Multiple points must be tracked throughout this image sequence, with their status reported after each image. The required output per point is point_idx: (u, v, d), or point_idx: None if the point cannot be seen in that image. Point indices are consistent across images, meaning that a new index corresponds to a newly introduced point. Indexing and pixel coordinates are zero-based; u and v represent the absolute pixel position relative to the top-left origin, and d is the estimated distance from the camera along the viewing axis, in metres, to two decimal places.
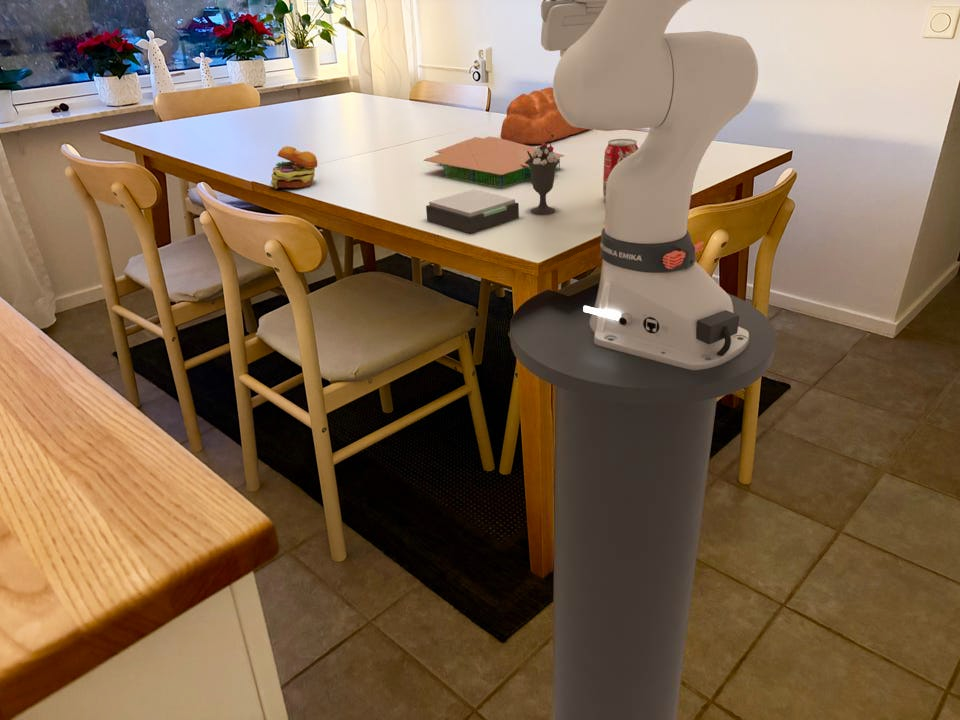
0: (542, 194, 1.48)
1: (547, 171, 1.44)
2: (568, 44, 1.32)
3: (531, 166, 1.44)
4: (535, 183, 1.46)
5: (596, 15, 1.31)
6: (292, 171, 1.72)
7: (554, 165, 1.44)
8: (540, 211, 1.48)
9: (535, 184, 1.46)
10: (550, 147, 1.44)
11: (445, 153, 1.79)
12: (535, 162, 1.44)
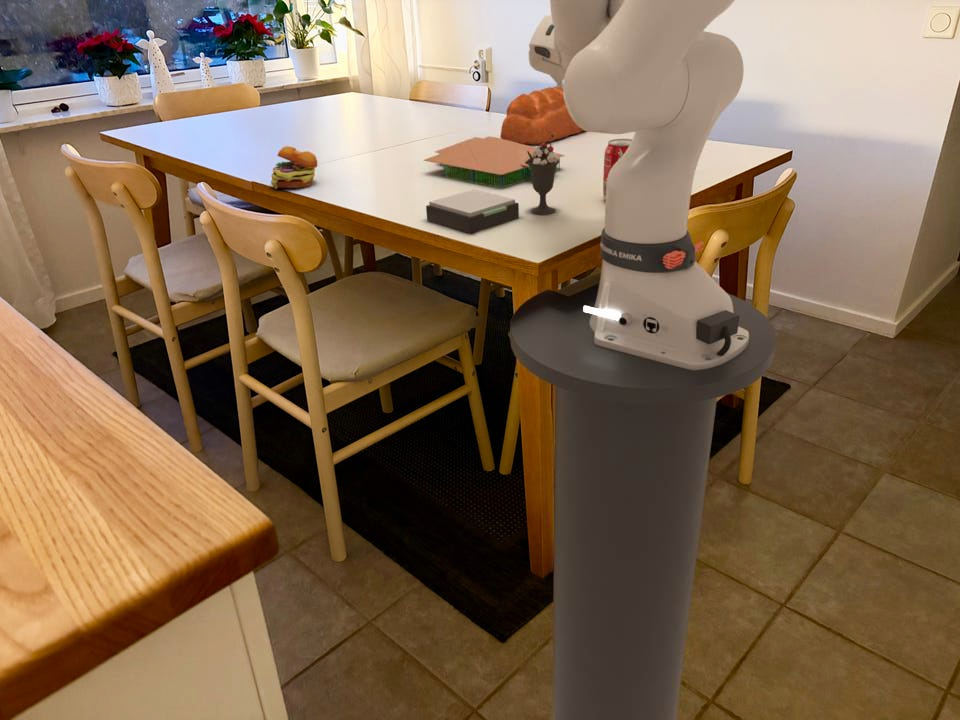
0: (542, 194, 1.48)
1: (547, 171, 1.44)
2: None
3: (531, 166, 1.44)
4: (535, 183, 1.46)
5: None
6: (292, 171, 1.72)
7: (554, 165, 1.44)
8: (540, 211, 1.48)
9: (535, 184, 1.46)
10: (550, 147, 1.44)
11: (445, 153, 1.79)
12: (535, 162, 1.44)
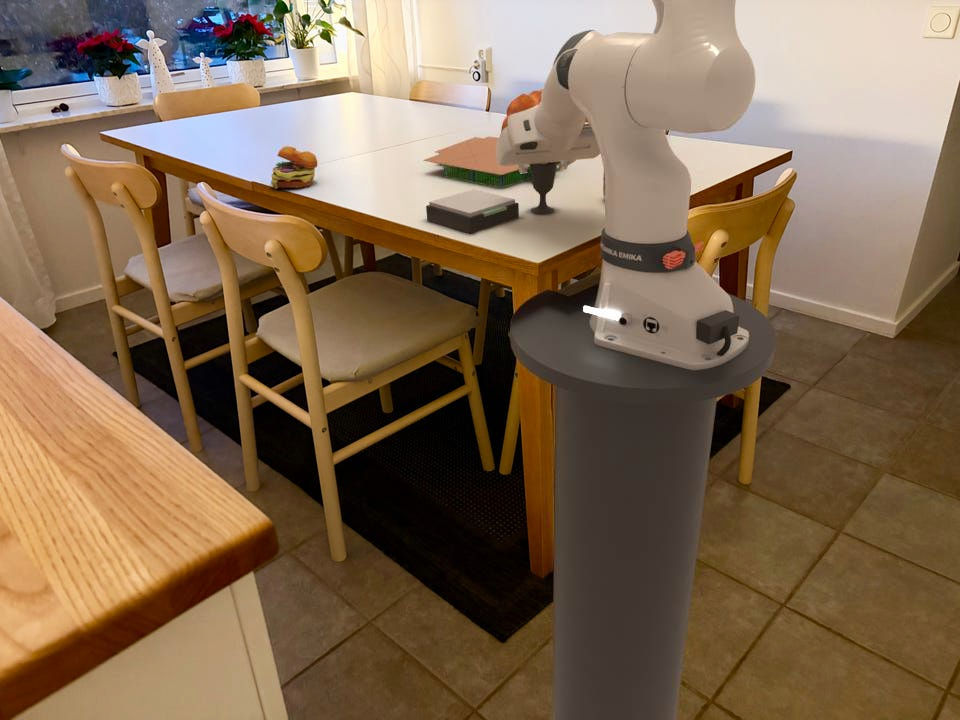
0: (542, 194, 1.48)
1: (548, 171, 1.44)
2: None
3: (532, 166, 1.44)
4: (535, 183, 1.46)
5: None
6: (292, 171, 1.72)
7: (555, 165, 1.44)
8: (540, 211, 1.48)
9: (535, 184, 1.46)
10: None
11: (445, 153, 1.79)
12: None
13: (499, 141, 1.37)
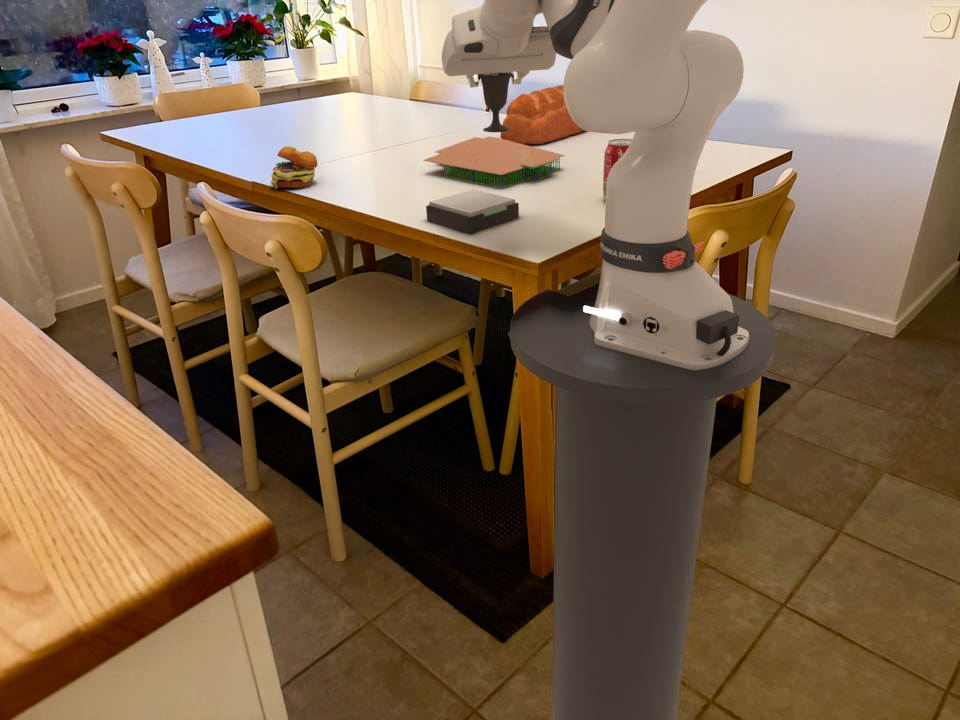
0: (495, 110, 1.38)
1: (499, 83, 1.34)
2: None
3: (482, 78, 1.35)
4: (487, 97, 1.36)
5: None
6: (292, 171, 1.72)
7: (507, 77, 1.34)
8: (493, 129, 1.39)
9: (487, 98, 1.36)
10: None
11: (445, 153, 1.79)
12: None
13: (444, 46, 1.27)
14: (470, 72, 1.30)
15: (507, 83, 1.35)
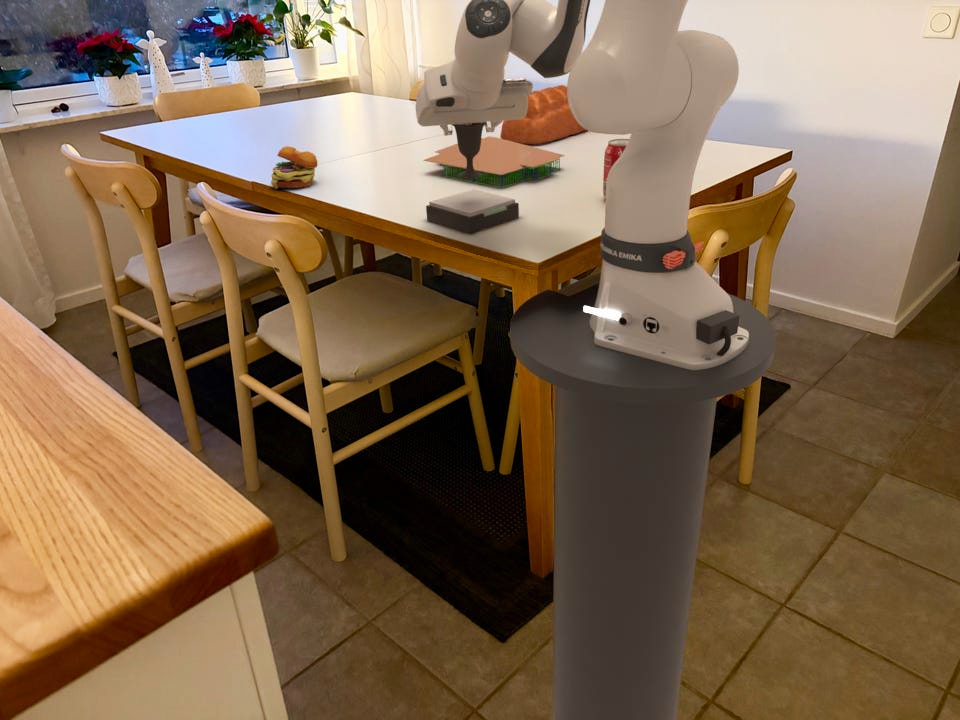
0: (469, 158, 1.40)
1: (472, 132, 1.37)
2: None
3: (456, 127, 1.37)
4: (460, 145, 1.39)
5: None
6: (292, 171, 1.72)
7: (480, 126, 1.37)
8: (467, 175, 1.41)
9: (460, 146, 1.39)
10: None
11: (445, 153, 1.79)
12: None
13: (417, 98, 1.30)
14: (443, 123, 1.33)
15: (480, 132, 1.38)
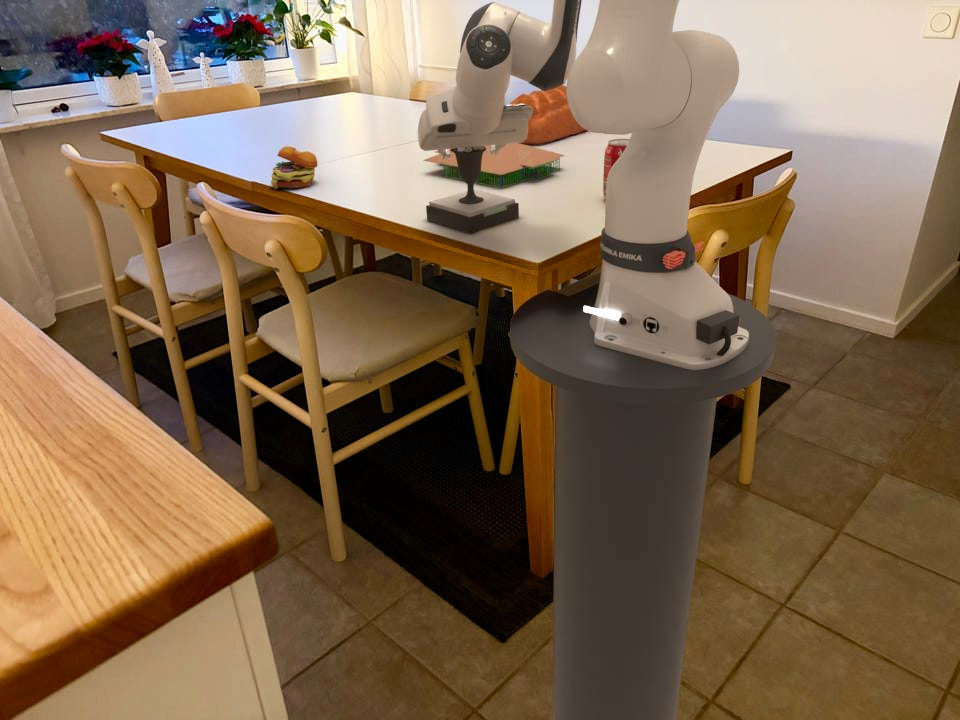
0: (469, 183, 1.43)
1: (472, 159, 1.39)
2: None
3: (456, 154, 1.40)
4: (461, 171, 1.41)
5: None
6: (292, 171, 1.72)
7: (480, 153, 1.39)
8: (468, 200, 1.43)
9: (461, 172, 1.41)
10: None
11: None
12: (460, 149, 1.39)
13: (419, 124, 1.32)
14: (445, 147, 1.35)
15: (480, 158, 1.40)
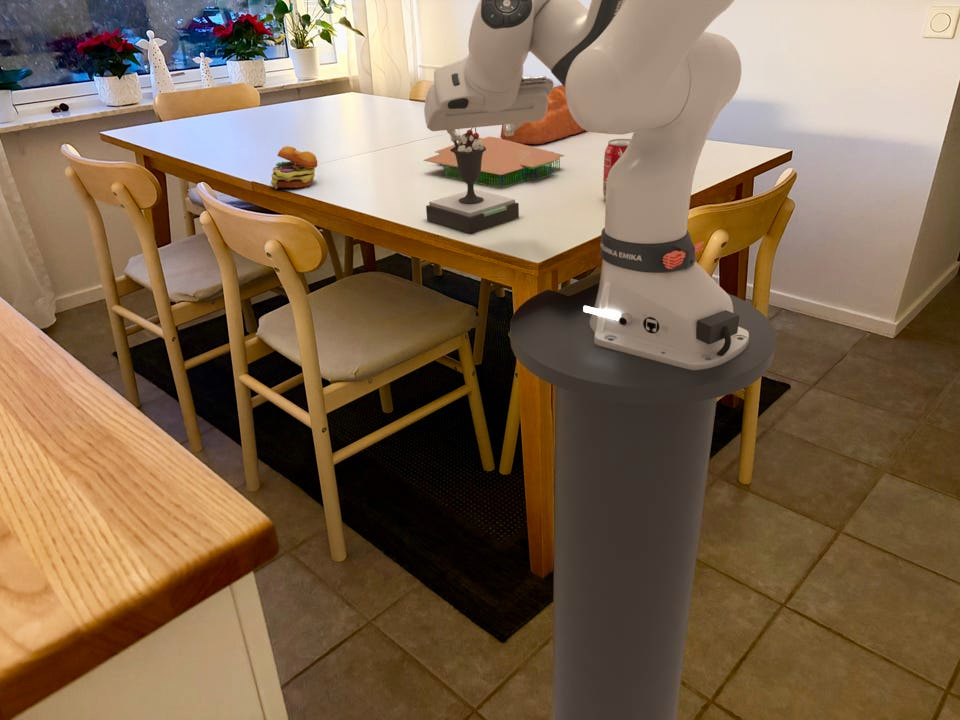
0: (469, 183, 1.43)
1: (472, 159, 1.39)
2: None
3: (456, 154, 1.40)
4: (461, 171, 1.41)
5: None
6: (292, 171, 1.72)
7: (480, 152, 1.39)
8: (468, 200, 1.43)
9: (461, 172, 1.41)
10: (475, 134, 1.39)
11: (445, 153, 1.79)
12: (460, 149, 1.39)
13: (426, 100, 1.18)
14: (455, 127, 1.21)
15: (480, 158, 1.40)
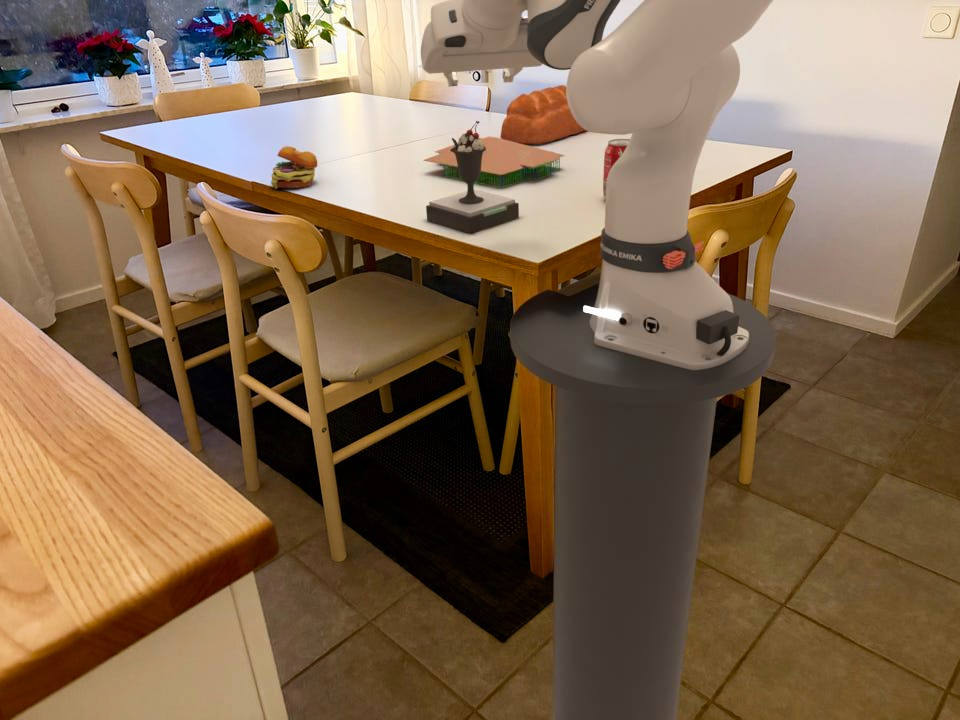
0: (469, 183, 1.43)
1: (472, 159, 1.39)
2: None
3: (456, 154, 1.40)
4: (461, 171, 1.41)
5: None
6: (292, 171, 1.72)
7: (480, 152, 1.39)
8: (468, 200, 1.43)
9: (461, 172, 1.41)
10: (475, 134, 1.39)
11: (445, 153, 1.79)
12: (460, 149, 1.39)
13: (423, 40, 1.14)
14: (452, 69, 1.17)
15: (480, 158, 1.40)
